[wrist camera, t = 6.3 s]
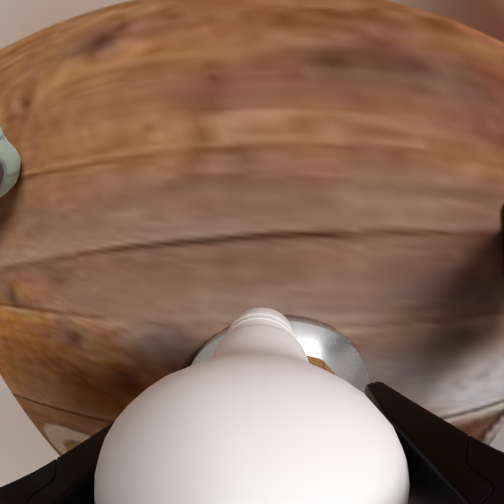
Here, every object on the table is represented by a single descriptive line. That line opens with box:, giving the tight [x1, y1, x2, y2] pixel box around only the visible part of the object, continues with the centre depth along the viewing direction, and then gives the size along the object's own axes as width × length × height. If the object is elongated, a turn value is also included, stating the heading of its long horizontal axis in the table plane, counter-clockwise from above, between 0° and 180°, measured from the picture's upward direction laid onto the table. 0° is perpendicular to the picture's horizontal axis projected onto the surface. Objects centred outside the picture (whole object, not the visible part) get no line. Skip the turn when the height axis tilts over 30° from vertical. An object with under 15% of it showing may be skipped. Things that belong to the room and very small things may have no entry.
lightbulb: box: [94, 308, 410, 504], centre depth 7 cm, size 6×6×11 cm
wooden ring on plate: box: [191, 315, 370, 394], centre depth 20 cm, size 14×14×4 cm
